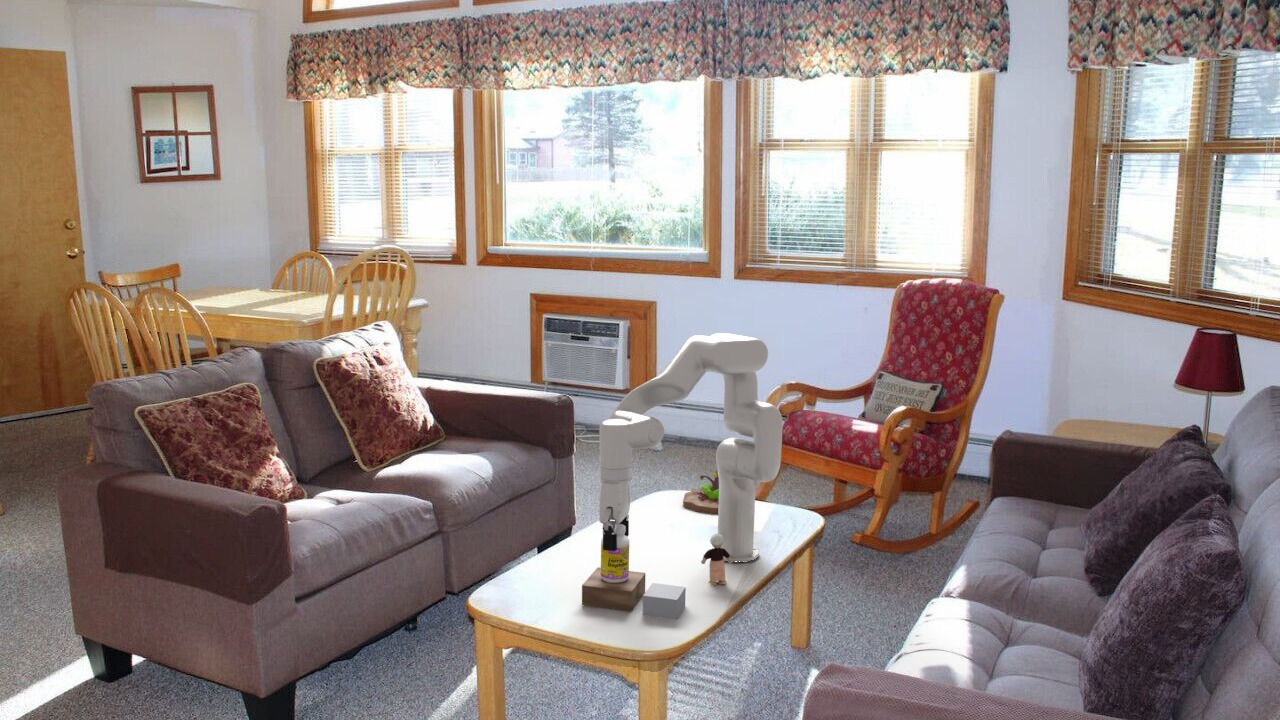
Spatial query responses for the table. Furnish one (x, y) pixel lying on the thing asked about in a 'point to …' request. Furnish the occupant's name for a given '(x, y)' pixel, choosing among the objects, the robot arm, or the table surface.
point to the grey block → (664, 601)
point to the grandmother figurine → (717, 560)
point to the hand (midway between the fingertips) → (616, 542)
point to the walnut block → (613, 592)
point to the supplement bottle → (616, 558)
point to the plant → (704, 497)
